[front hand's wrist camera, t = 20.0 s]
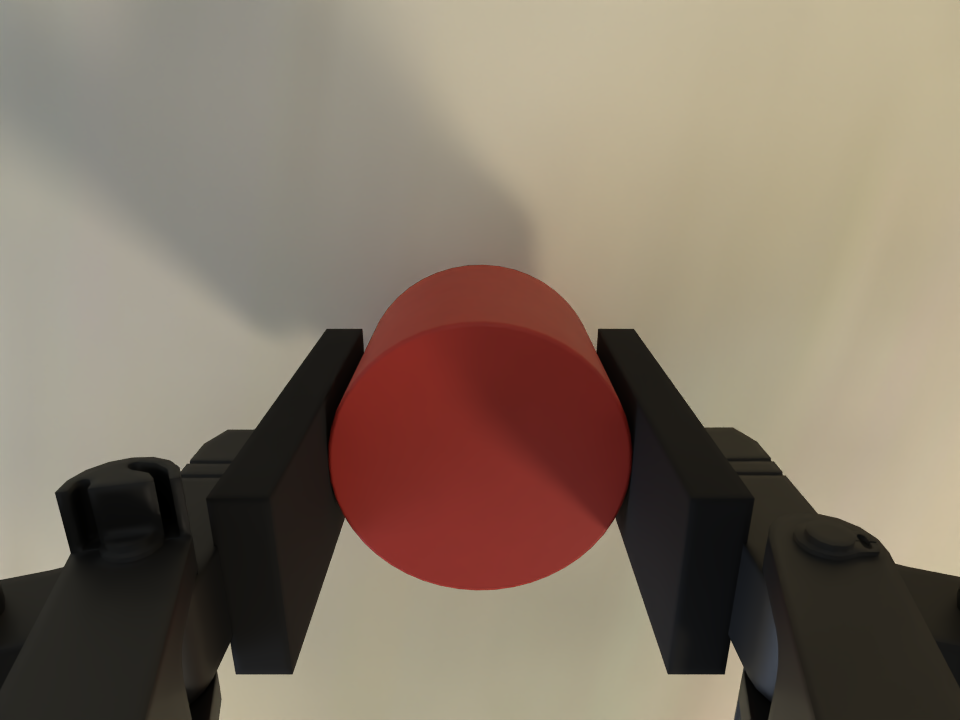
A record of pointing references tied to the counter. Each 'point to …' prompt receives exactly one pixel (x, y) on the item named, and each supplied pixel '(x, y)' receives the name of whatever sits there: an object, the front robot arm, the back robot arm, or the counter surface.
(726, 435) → the front robot arm
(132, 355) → the counter surface
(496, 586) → the can
